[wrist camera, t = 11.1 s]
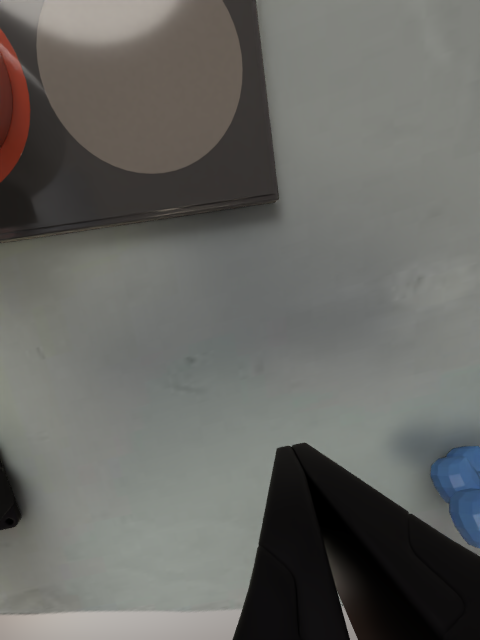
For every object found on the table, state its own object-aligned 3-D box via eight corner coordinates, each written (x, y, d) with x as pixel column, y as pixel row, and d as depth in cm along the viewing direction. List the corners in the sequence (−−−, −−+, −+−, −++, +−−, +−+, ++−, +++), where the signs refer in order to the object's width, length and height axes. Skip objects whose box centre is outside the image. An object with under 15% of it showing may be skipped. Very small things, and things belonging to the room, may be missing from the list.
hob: (-136, 263, 16) (-163, 264, 15) (-269, -53, 13) (-316, -83, 12) (275, 202, 18) (280, 198, 16) (239, -97, 15) (242, -129, 13)
